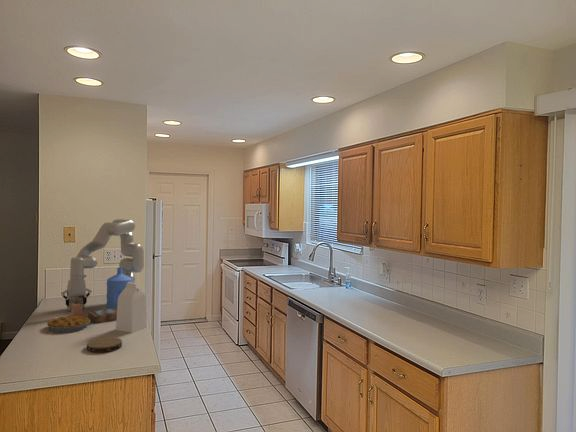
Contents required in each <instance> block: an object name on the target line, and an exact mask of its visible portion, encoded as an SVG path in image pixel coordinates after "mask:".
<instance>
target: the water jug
mask: <svg viewBox="0 0 576 432" xmlns="http://www.w3.org/2000/svg"><path fill="white" fill-rule="evenodd" d="M116 272H117V273H116V274H115V275H112V276H110V277H107V280H106V307H105V309H112V308H115V309H117V304H118V296H119V295H120V294H121V292H122V291H123V290H124V289H125V288H126V285H127V283H129V282H130V283H132V278H130V277H128V276H126V275H123V274H122V268H119V267H117V268H116Z"/></svg>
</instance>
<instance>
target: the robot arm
mask: <svg viewBox="0 0 576 432" xmlns="http://www.w3.org/2000/svg"><path fill="white" fill-rule="evenodd" d="M135 228H136V223H135V222H134V221H133V220H132V219H124V218H123V219H122V218H121V219H120V218H119V219H118V218H117V219H114V220H112V221H111V222H104V223H102V225H101V226H100V228H99V230H98V231H97V233H96V234H95V236H94V238H93V239H92V240H91V241H89V243H87V244H86V245H84V246H83V247H82V248H81V249H80V250H79V252H78V253H77V254H76V257H72V258H71V259H70V267H69V268H70V270H69V271H70V272H69V273H70V274H69V275H70V277H69V279H68V281H67V286H66V289H65V290H64V291H62V292H61V293H60V294H61V296H62V298H63V299H65V305H66V307H67V306H69V298H70V297H71V296H82V295H83V296H84V298H83V304H84V306H86V305H87V301H88V300H87V299H88V297H89V296H90V295H91V293H92V290H91V289H89V288H87V287H86V280H85V278H87V275H86V274H85V273H84V271H85V269H94V268H95V267H97V265H98V260H97V258H96V257H94V256H91V254H93V252H96V251H99V250H101V249H103V248H105V247H106V245H107V244H108V242H109V241H110V239H111V238H112V236H116V237H118V236H119V237H120V239H119V240H120V253H121V255H123V256H124V258H122V259H120V261H119V266H118V268H122V274H123V275H126V276H128V277H130V278H132V283H136V275H135V274H136V273H141V272H142V271H143V269H144V267H145V257H144V248H143V245H141V244H140V243H135V241H134V234H133V231H135ZM86 292H87V293H86ZM65 294H66V295H65Z"/></svg>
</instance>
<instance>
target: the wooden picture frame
mask: <svg viewBox="0 0 576 432" xmlns="http://www.w3.org/2000/svg"><path fill="white" fill-rule="evenodd" d="M87 317H88V318H89V319H90V322H92V323H94V324H99V323H105V322H106V323H107V322H114V321H116V319H117V309H115V308H112V309H106V308H105V309H99V310H98V309H97V310H92V311H87Z"/></svg>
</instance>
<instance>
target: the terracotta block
mask: <svg viewBox="0 0 576 432" xmlns="http://www.w3.org/2000/svg"><path fill="white" fill-rule="evenodd" d="M70 312H71V315H70V316H83V309H82V305H81V304H73V305H71V311H70Z"/></svg>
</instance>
